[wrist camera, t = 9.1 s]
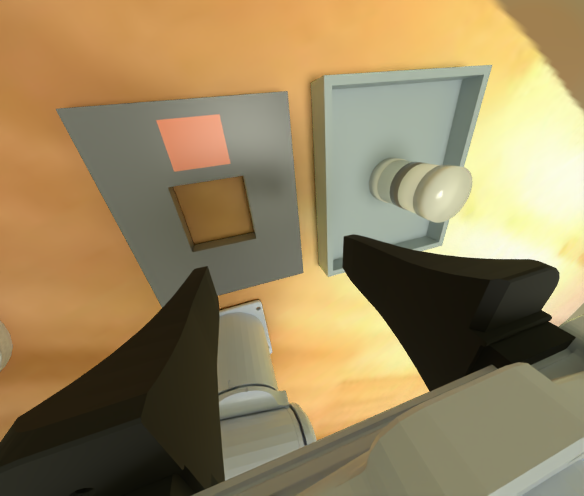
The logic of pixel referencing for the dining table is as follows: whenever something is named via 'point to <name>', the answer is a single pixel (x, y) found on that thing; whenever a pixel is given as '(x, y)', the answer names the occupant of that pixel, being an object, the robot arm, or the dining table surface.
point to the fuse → (422, 187)
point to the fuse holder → (193, 169)
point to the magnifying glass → (4, 346)
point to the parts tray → (386, 148)
